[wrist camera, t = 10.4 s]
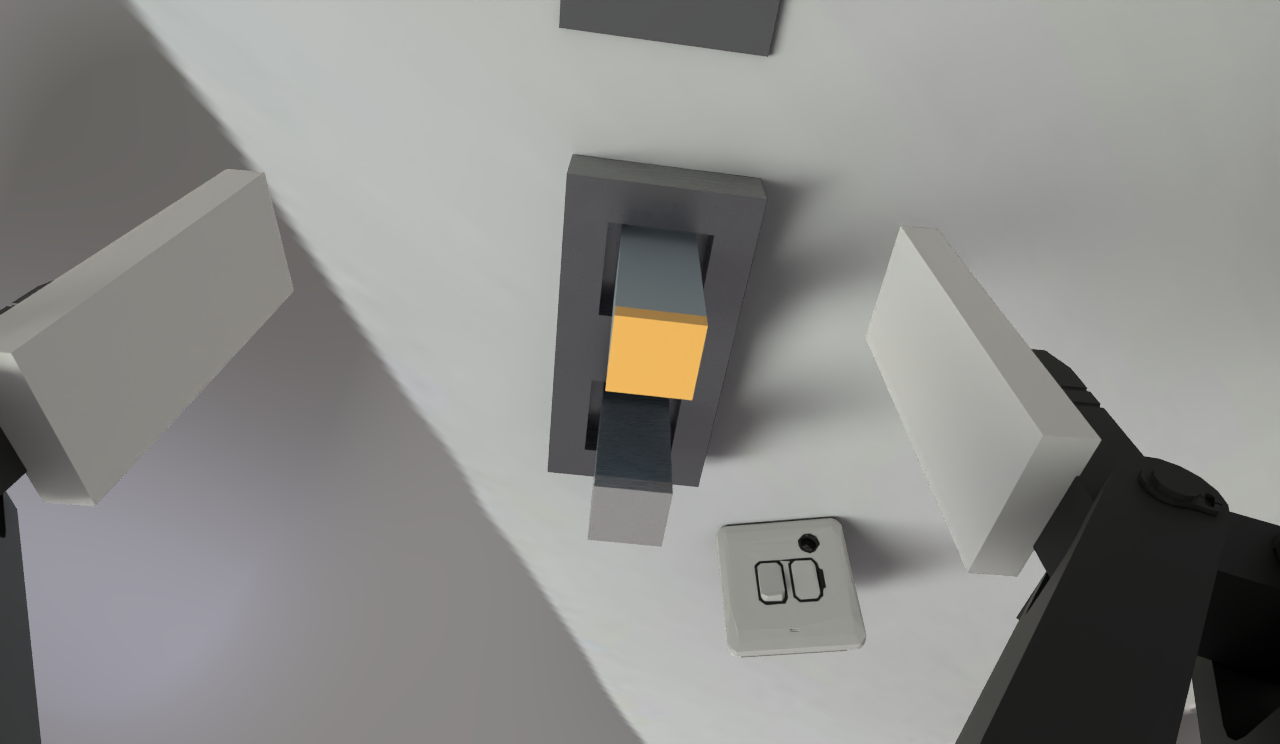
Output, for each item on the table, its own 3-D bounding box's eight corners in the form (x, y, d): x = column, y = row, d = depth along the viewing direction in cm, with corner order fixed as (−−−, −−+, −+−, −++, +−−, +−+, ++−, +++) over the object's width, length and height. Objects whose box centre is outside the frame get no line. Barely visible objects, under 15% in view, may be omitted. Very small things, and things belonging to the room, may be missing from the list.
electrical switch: (840, 513, 51) (871, 630, 44) (836, 554, 55) (864, 668, 47) (714, 523, 52) (725, 639, 45) (718, 562, 55) (728, 676, 48)
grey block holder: (759, 178, 37) (794, 271, 28) (695, 456, 48) (706, 586, 39) (572, 154, 36) (546, 241, 27) (553, 441, 47) (529, 570, 38)
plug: (695, 230, 37) (708, 326, 29) (683, 295, 40) (692, 400, 31) (622, 222, 37) (614, 315, 29) (614, 287, 39) (605, 390, 31)
